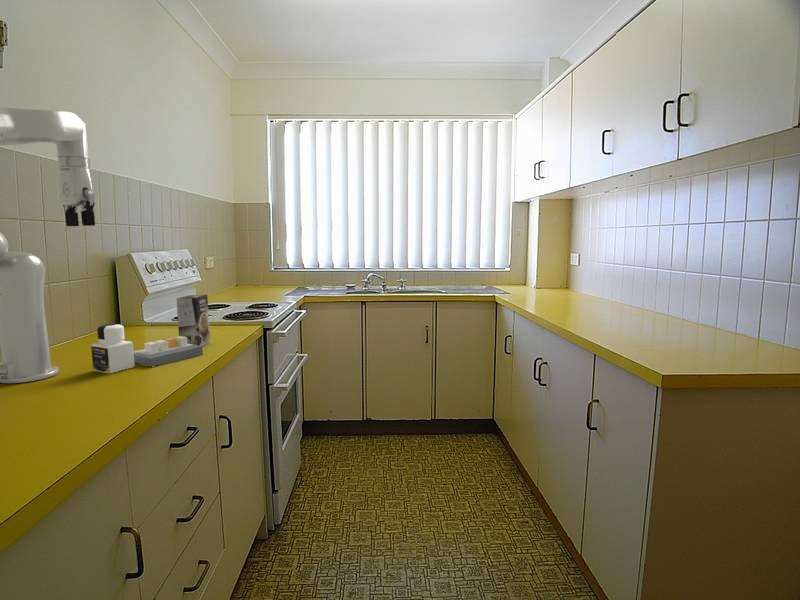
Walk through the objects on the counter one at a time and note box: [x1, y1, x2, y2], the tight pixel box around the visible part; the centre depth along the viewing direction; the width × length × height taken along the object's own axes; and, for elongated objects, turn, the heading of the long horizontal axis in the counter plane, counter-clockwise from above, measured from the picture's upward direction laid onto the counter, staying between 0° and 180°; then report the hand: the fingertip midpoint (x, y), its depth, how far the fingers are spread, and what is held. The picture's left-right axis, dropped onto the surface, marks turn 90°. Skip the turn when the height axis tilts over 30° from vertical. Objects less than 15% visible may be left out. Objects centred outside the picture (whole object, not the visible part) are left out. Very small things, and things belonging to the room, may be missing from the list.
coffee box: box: [176, 294, 211, 348], centre depth 156 cm, size 9×6×16 cm
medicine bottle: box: [90, 323, 136, 375], centre depth 130 cm, size 7×7×12 cm
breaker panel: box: [133, 335, 204, 368], centre depth 142 cm, size 16×12×5 cm
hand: (80, 225), depth 142 cm, fingers open, 9 cm apart
